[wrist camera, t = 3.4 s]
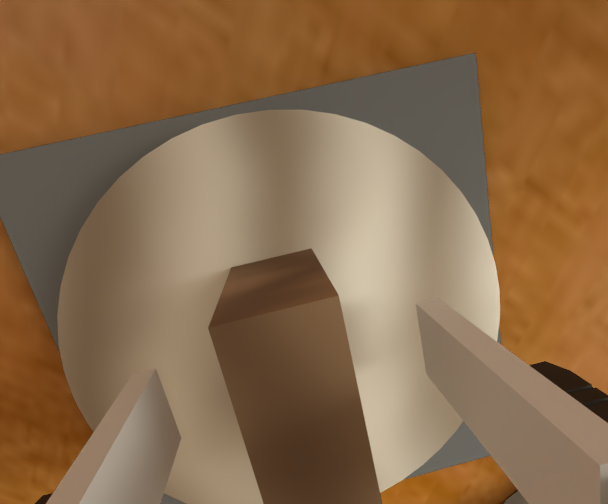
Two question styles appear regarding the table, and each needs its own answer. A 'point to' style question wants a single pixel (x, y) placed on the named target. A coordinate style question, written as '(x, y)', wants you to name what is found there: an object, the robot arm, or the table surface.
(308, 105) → the mat
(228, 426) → the lid
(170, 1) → the table surface
